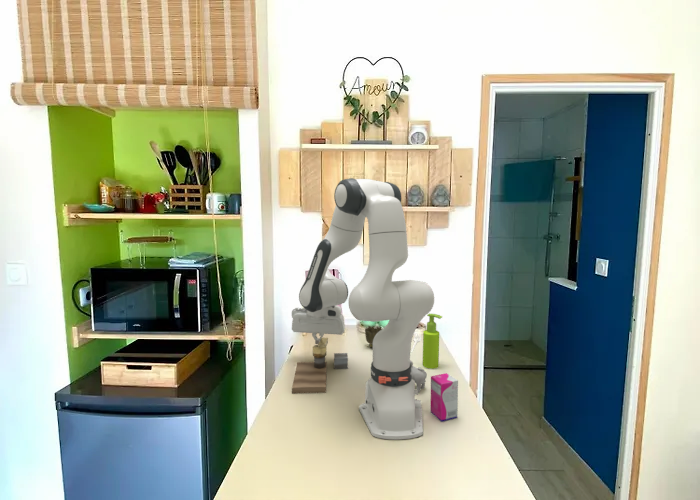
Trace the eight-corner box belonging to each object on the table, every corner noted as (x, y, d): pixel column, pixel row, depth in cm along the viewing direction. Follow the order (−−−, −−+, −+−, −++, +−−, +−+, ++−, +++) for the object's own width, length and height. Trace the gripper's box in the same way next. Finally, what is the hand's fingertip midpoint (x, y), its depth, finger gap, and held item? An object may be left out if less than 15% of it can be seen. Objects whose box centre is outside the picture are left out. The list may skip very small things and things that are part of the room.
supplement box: (445, 408, 121) (447, 372, 119) (457, 418, 115) (459, 380, 114) (429, 412, 119) (430, 375, 117) (440, 422, 113) (442, 384, 112)
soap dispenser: (436, 370, 147) (438, 318, 144) (419, 366, 151) (421, 314, 148) (443, 365, 151) (445, 314, 149) (426, 361, 155) (428, 311, 153)
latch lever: (325, 358, 143) (325, 350, 142) (311, 357, 143) (311, 349, 143) (331, 344, 156) (331, 336, 155) (318, 343, 156) (318, 336, 156)
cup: (362, 349, 167) (362, 330, 166) (367, 342, 174) (367, 325, 173) (380, 351, 165) (380, 332, 164) (383, 344, 172) (384, 326, 171)
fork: (407, 354, 164) (407, 350, 164) (414, 337, 183) (414, 333, 182) (415, 355, 163) (415, 350, 163) (422, 337, 182) (422, 333, 181)
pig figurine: (394, 378, 141) (395, 349, 139) (428, 388, 133) (429, 357, 132) (387, 384, 137) (387, 354, 135) (421, 394, 129) (422, 363, 128)
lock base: (350, 392, 131) (349, 374, 130) (292, 393, 130) (291, 375, 129) (347, 363, 154) (347, 348, 153) (298, 363, 153) (297, 348, 152)
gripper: (289, 309, 150) (289, 345, 152) (343, 312, 148) (342, 348, 150) (293, 305, 157) (294, 339, 159) (345, 307, 154) (345, 342, 156)
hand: (318, 343), depth 154 cm, fingers closed
